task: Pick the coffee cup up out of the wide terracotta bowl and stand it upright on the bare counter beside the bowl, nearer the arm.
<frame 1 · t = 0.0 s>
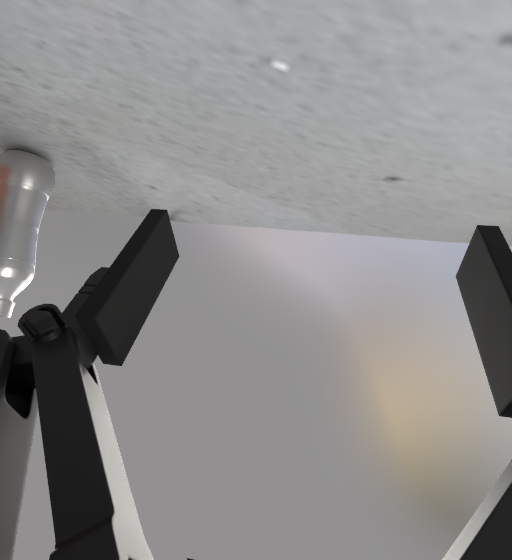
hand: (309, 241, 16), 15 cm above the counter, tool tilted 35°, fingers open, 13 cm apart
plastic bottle: (30, 155, 46), on the counter
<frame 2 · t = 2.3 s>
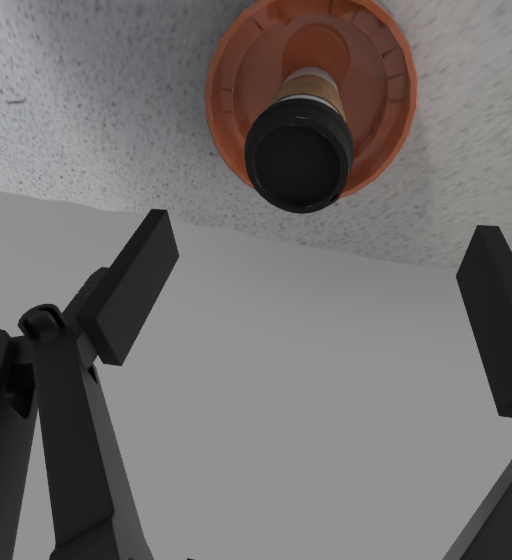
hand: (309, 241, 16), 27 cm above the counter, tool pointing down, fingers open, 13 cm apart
coffee cup: (308, 97, 37), resting on bowl
bowl: (309, 96, 37), on the counter
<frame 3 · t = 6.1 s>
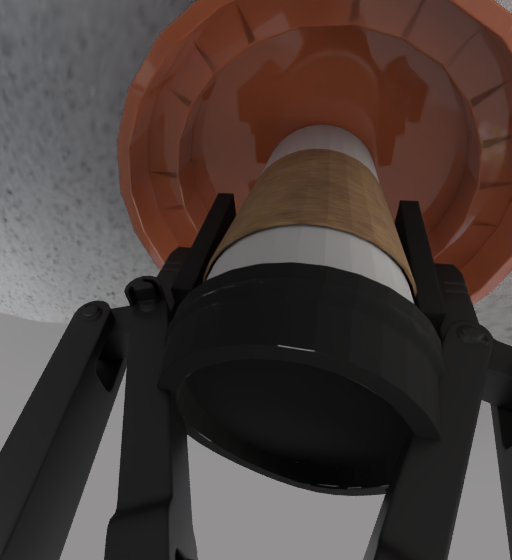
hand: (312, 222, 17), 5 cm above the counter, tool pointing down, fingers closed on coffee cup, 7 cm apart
coffee cup: (319, 175, 21), resting on bowl, touching gripper
bowl: (319, 172, 21), on the counter
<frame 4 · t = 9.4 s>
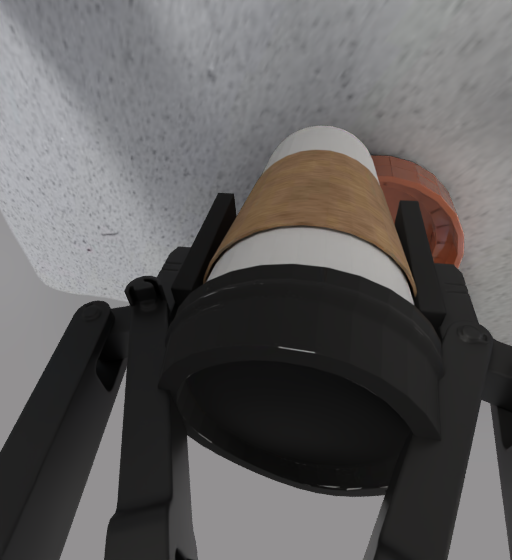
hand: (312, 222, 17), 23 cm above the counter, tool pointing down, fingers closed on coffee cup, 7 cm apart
coffee cup: (319, 176, 21), point 18 cm above the counter, touching gripper
bowl: (363, 231, 43), on the counter
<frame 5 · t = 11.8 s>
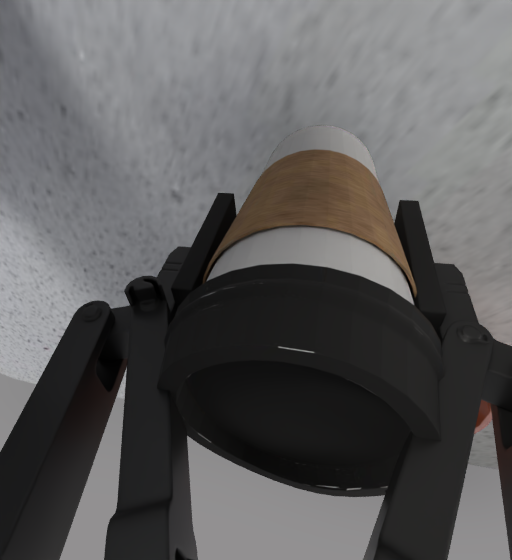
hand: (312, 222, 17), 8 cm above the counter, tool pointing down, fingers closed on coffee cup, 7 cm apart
coffee cup: (319, 176, 21), point 3 cm above the counter, touching gripper
bowl: (370, 356, 36), on the counter
when the fingers open (4 cm above the counter, at t = 13.2 s): coffee cup stays where it is, on the counter.
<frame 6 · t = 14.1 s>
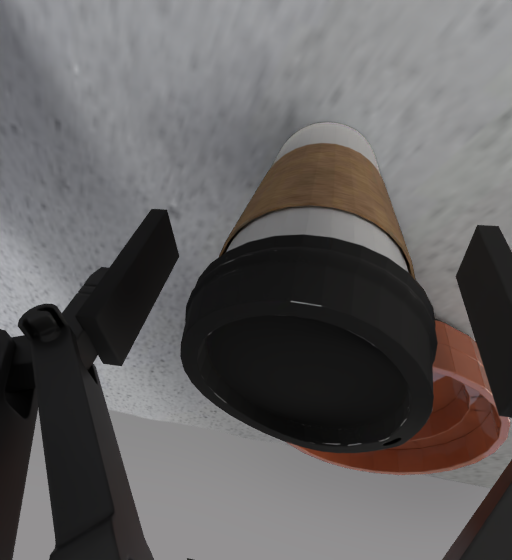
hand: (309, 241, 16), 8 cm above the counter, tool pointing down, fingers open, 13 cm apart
coffee cup: (324, 170, 22), on the counter
bowl: (373, 376, 35), on the counter
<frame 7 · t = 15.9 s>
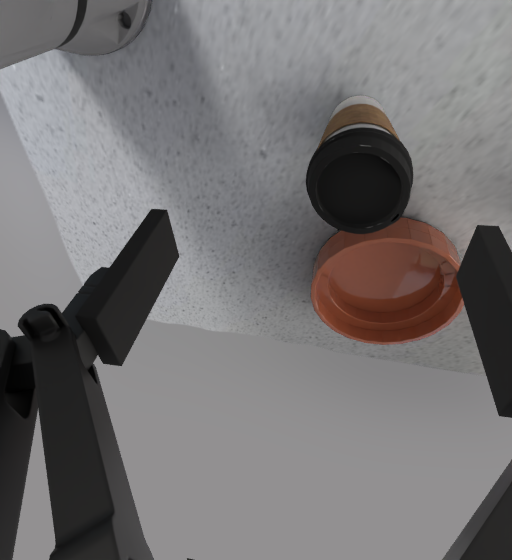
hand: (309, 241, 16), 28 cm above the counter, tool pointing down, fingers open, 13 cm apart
coffee cup: (356, 124, 39), on the counter
bowl: (382, 273, 52), on the counter
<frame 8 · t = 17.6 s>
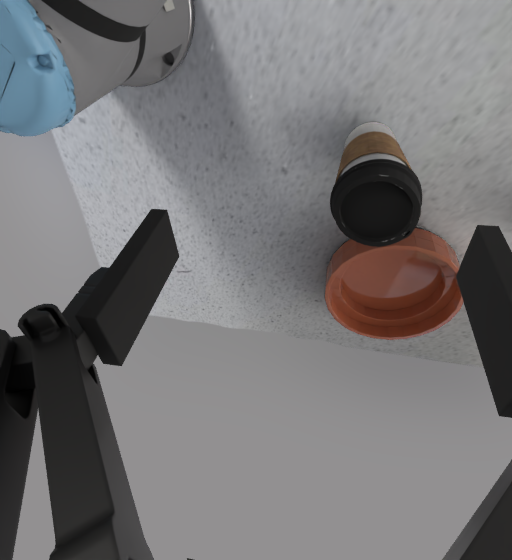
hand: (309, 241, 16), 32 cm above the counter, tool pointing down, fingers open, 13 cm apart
coffee cup: (369, 145, 44), on the counter
bowl: (389, 275, 57), on the counter
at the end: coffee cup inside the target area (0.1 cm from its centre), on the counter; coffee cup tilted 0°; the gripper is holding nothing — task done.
